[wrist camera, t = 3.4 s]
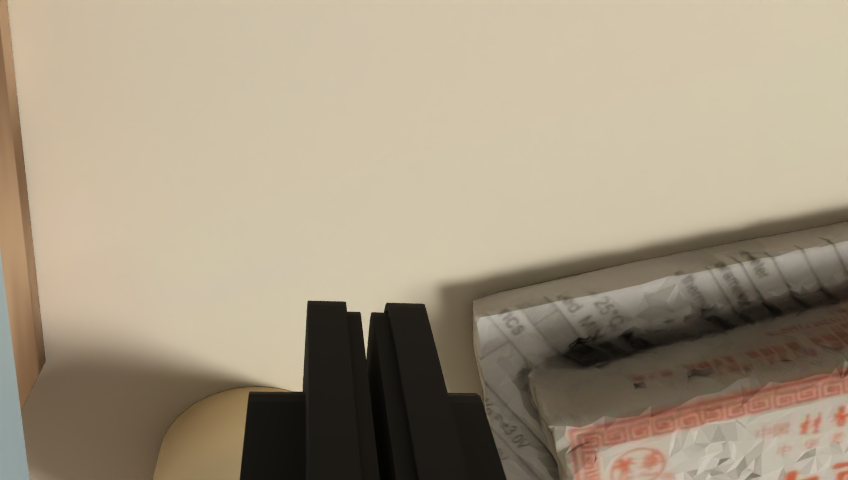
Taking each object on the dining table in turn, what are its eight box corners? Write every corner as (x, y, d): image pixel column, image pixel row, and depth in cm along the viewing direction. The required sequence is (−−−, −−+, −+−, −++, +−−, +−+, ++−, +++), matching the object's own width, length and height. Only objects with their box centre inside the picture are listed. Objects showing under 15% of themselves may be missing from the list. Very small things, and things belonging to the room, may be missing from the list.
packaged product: (1171, 243, 21) (1082, 517, 25) (1022, 174, 25) (969, 419, 30) (494, 384, 20) (530, 641, 24) (460, 287, 24) (496, 521, 29)
